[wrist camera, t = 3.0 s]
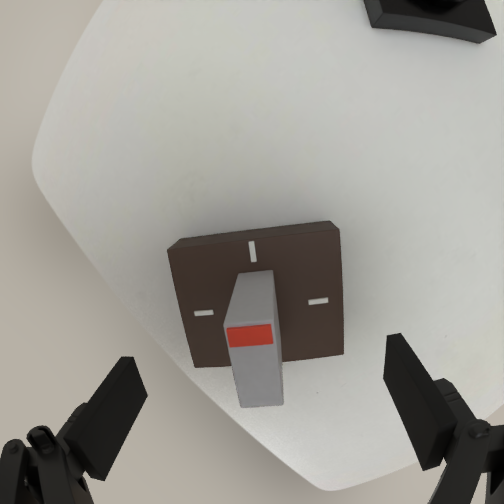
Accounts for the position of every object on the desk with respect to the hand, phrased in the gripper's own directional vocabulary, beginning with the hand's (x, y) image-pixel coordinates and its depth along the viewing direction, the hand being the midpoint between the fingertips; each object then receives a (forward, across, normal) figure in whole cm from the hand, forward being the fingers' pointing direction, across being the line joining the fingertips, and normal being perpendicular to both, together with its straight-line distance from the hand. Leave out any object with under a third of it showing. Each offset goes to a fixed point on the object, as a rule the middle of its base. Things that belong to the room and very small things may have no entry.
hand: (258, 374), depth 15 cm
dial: (+8, 0, 0) cm, 8 cm away
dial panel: (+11, 0, 0) cm, 11 cm away
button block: (+11, +18, +26) cm, 34 cm away
